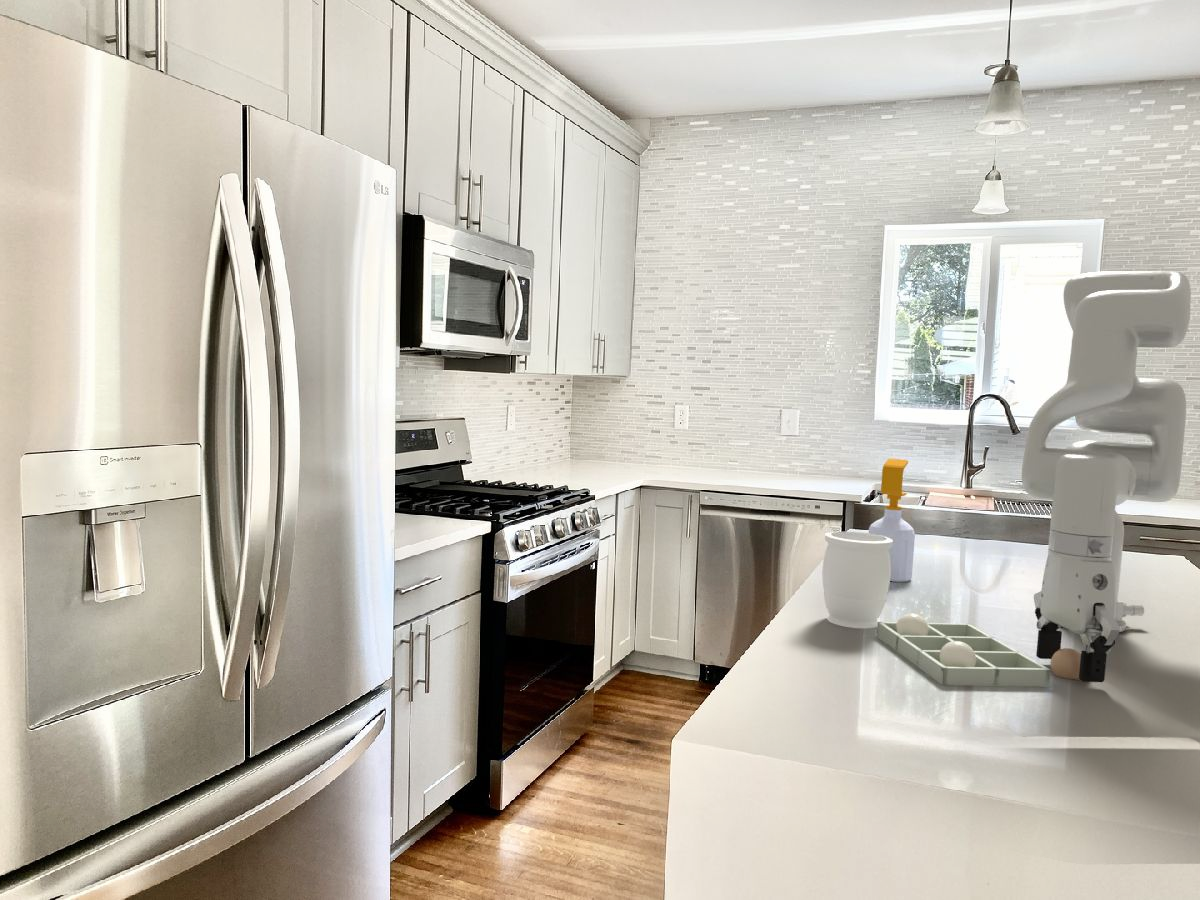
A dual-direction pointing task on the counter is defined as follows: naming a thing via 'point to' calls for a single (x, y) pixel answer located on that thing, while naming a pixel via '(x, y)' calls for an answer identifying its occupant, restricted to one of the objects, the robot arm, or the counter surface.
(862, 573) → the jar
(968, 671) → the egg tray
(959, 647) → the cream egg
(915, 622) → the cream egg
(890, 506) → the soap bottle
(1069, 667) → the brown egg
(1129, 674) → the counter surface
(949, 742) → the counter surface
